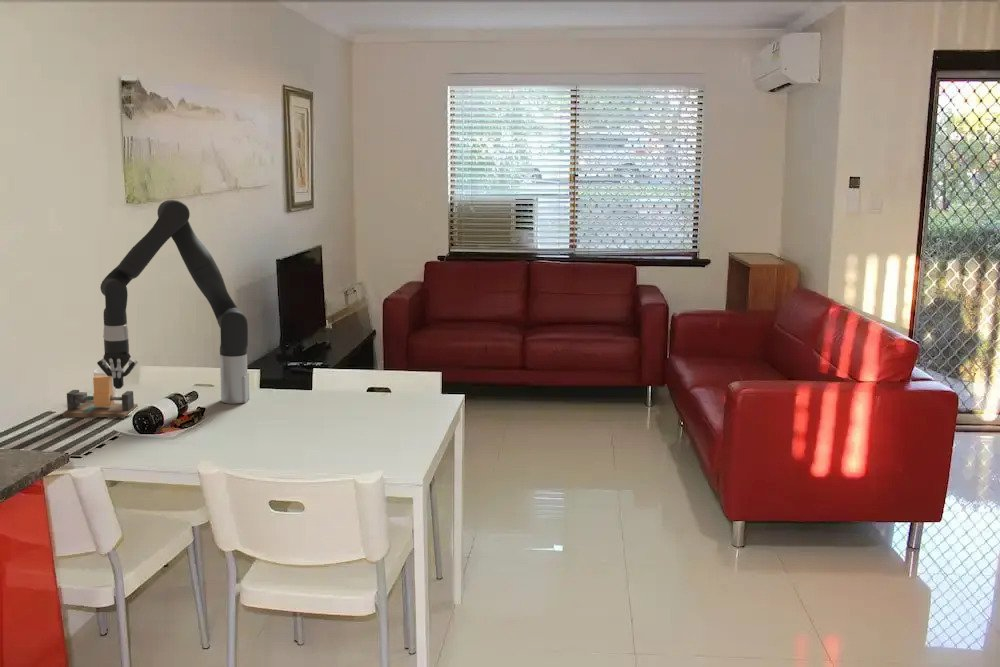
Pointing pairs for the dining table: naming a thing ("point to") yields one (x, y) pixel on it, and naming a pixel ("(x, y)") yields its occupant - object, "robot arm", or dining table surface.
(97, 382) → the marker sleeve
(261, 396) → the dining table surface
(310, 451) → the dining table surface
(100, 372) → the white cup
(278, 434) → the dining table surface
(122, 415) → the wooden board with posts
